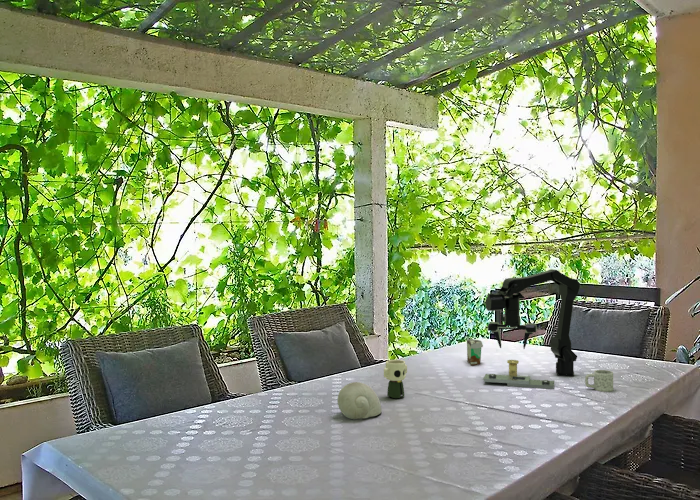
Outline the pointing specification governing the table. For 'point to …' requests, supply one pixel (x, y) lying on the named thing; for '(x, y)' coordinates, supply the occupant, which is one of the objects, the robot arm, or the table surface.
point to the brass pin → (513, 367)
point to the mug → (601, 380)
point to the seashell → (358, 401)
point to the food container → (474, 352)
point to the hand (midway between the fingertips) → (512, 348)
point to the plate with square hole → (519, 381)
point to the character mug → (395, 377)
